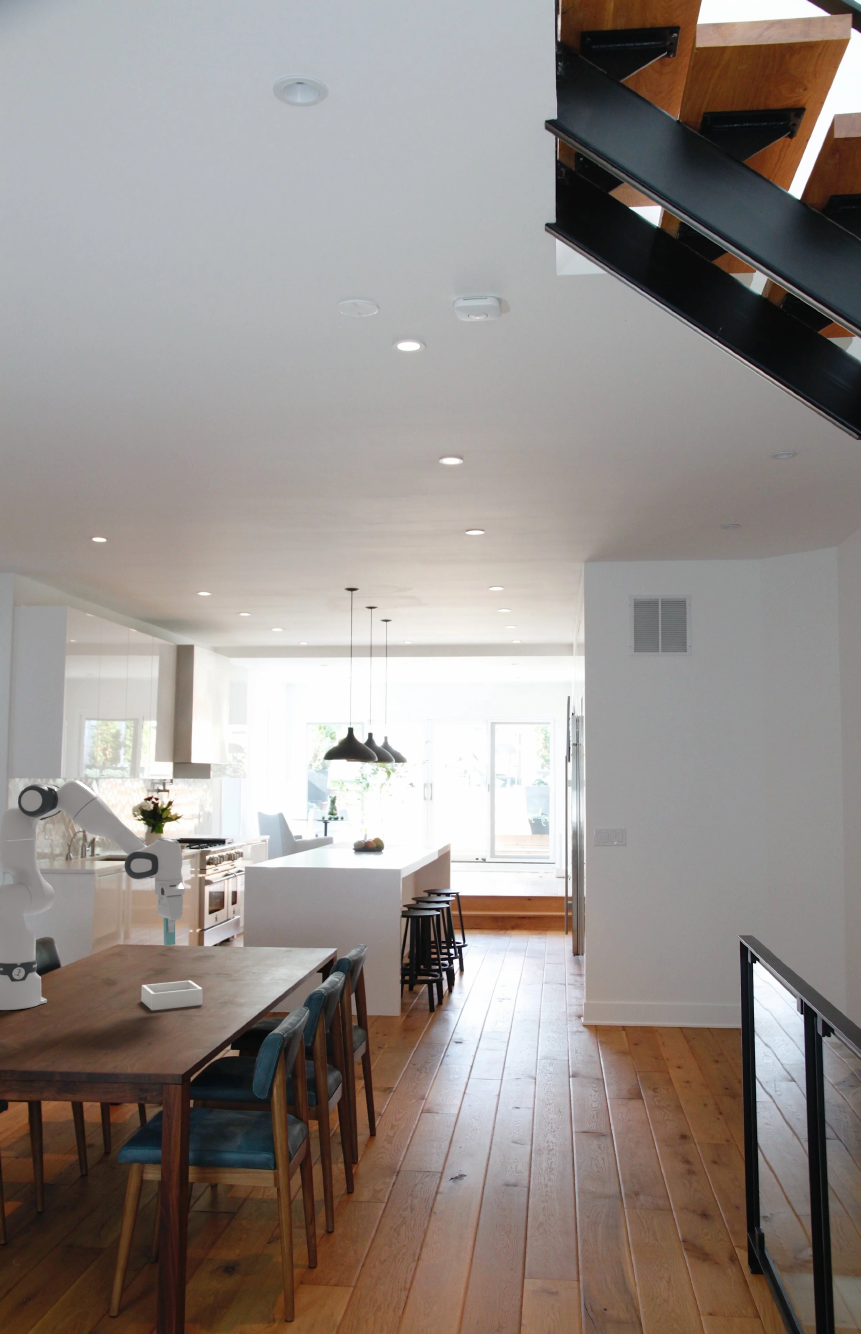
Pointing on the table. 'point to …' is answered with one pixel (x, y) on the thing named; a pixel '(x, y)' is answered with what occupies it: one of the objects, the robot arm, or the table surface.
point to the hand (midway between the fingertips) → (169, 931)
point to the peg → (168, 934)
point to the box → (172, 995)
